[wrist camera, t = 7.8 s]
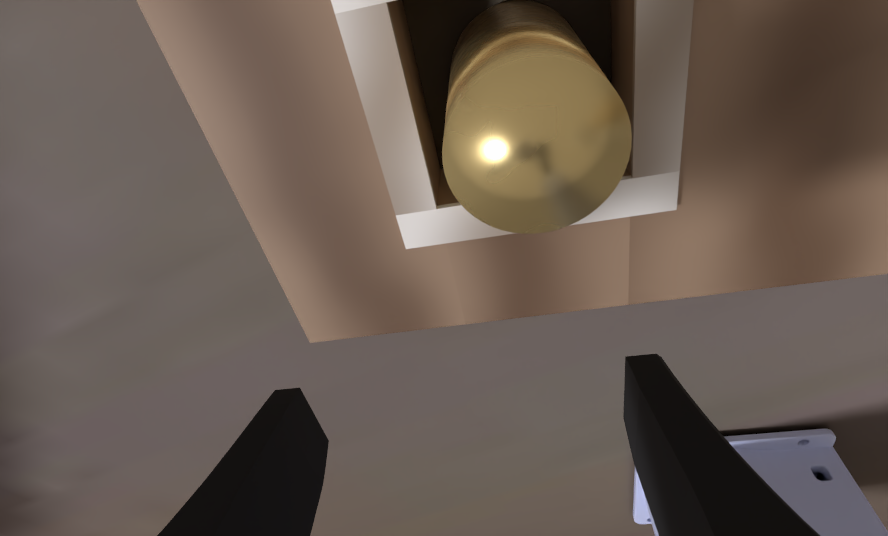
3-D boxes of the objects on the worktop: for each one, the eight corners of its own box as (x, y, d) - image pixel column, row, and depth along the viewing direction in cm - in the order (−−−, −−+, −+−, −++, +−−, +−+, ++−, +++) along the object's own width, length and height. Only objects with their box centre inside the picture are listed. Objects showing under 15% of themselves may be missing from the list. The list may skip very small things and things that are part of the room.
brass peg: (585, -9, 14) (643, 47, 9) (578, 128, 17) (621, 227, 12) (443, 8, 15) (431, 68, 10) (456, 139, 17) (451, 239, 12)
